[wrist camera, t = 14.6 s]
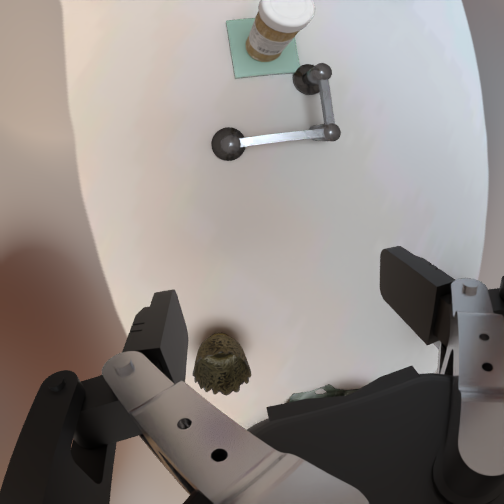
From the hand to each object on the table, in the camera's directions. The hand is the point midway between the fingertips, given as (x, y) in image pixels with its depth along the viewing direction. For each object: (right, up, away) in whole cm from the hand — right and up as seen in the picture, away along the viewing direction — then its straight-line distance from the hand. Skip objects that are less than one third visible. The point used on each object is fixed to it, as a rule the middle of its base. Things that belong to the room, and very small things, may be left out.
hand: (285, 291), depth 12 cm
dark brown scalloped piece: (-6, -12, +34) cm, 36 cm away
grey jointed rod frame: (+1, +19, +23) cm, 30 cm away
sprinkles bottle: (0, +26, +20) cm, 33 cm away
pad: (0, +26, +20) cm, 33 cm away
